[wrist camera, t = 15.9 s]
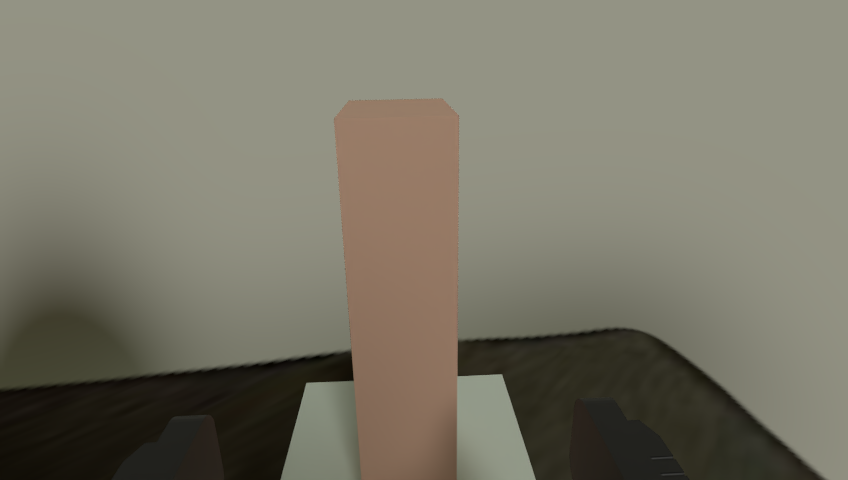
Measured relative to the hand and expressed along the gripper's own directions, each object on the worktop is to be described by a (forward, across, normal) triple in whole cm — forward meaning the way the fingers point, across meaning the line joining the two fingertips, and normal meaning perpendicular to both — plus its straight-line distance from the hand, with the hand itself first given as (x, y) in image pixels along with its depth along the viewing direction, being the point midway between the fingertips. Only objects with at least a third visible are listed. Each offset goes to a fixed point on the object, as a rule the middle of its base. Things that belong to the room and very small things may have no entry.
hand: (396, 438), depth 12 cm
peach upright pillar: (+11, 0, +11) cm, 15 cm away
